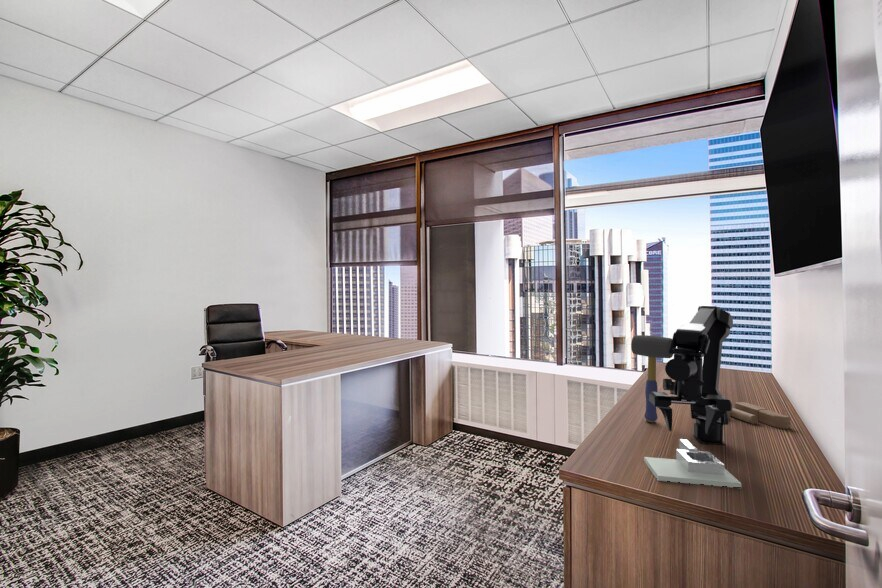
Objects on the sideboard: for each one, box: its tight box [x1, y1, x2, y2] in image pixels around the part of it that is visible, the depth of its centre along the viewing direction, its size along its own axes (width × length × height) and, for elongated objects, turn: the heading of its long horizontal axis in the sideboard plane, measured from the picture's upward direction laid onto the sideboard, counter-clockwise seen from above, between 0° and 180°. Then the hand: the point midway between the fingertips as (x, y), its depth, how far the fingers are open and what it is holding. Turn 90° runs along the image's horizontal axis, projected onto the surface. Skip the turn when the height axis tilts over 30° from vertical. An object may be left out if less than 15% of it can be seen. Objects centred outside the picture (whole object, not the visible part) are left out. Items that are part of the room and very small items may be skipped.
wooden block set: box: [727, 401, 791, 430], centre depth 142 cm, size 17×6×18 cm
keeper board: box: [643, 452, 742, 488], centre depth 102 cm, size 18×11×5 cm, turn 79°
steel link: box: [675, 438, 725, 475], centre depth 107 cm, size 14×8×3 cm, turn 169°
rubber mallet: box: [630, 334, 674, 423], centre depth 141 cm, size 12×8×30 cm, turn 46°
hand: (688, 432), depth 110 cm, fingers open, 9 cm apart
